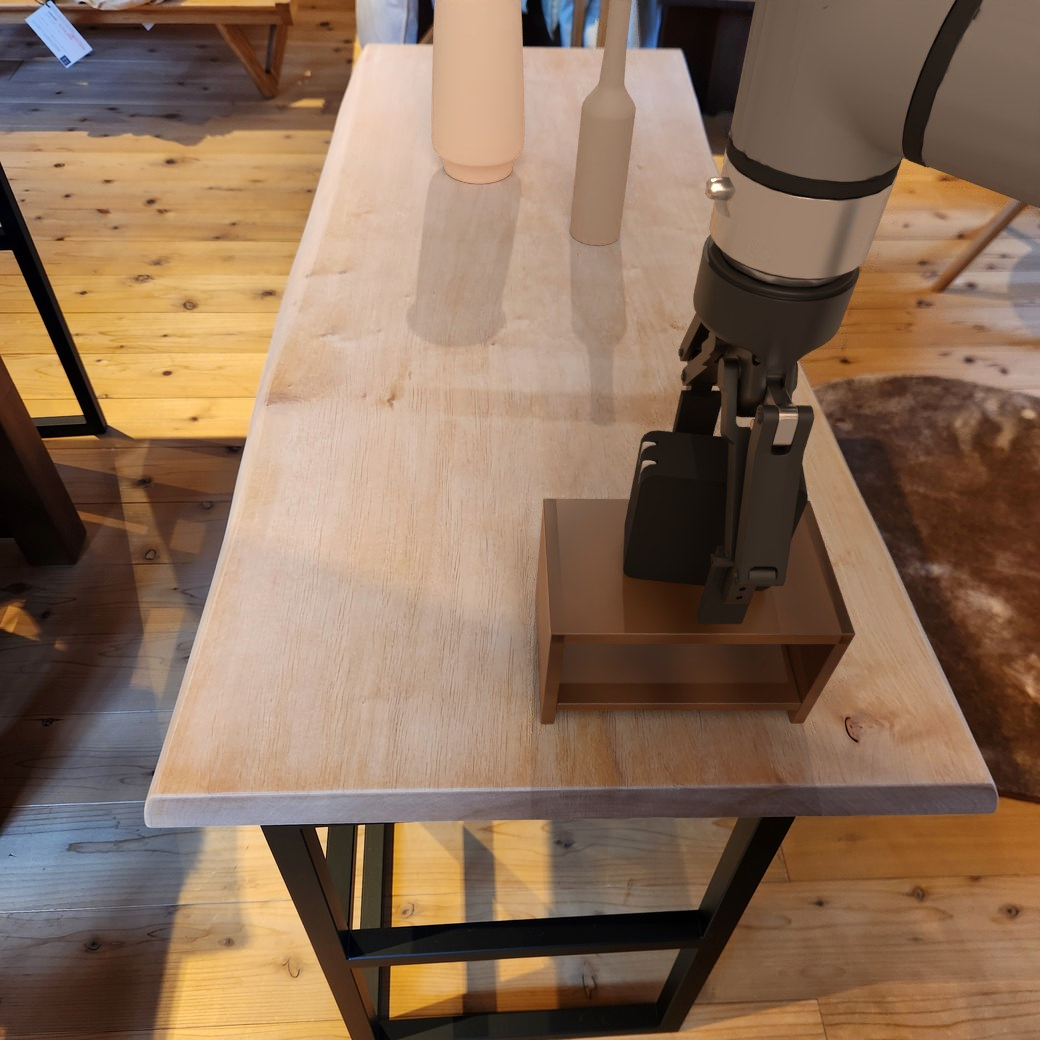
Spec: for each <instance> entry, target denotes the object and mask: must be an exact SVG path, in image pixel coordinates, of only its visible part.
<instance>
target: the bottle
mask: <svg viewBox="0 0 1040 1040" xmlns="http://www.w3.org/2000/svg"><path fill="white" fill-rule="evenodd" d="M632 3H633V0H609V5H608V12H607V23H606V32H605V39H604V40H605V41H604V48H603V49H604V50H603V55H602V60H601V61H602V62H601V68H600V74H599V80H598V83H597V85H596V86H595V87H594V88H593V90H592V91H591V92H590V93H589V94H587V96H585V98H584V100H583V101H582V103H581V104H582V105H581V111H580V121H579V131H578V143H577V152H576V162H575V171H574V180H573V181H574V182H573V191H572V193H573V194H572V200H571V201H572V204H571V213H570V224H569V225H570V226H569V233H570V235H571V237H572V238H573V239H575V240H576V241H577V242H580V243H582V244H585V245H590V246H604V245H605V246H606V245H610V244H613V243H615V242H616V241H617V240H618V239H619V238H620V236H621V230H622V221H623V215H624V214H623V213H624V206H625V197H626V190H627V183H628V175H629V166H630V159H631V158H630V157H631V150H632V143H633V142H632V141H633V134H634V127H635V118H636V111H637V107H636V105H635V102H634V100H633V98H632V96H631V95H630V94H629V92H628V90H627V87H626V85H625V80H626V79H625V77H626V62H627V48H628V39H629V29H630V22H631V14H632V13H631V11H632V5H633V4H632Z"/></svg>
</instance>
